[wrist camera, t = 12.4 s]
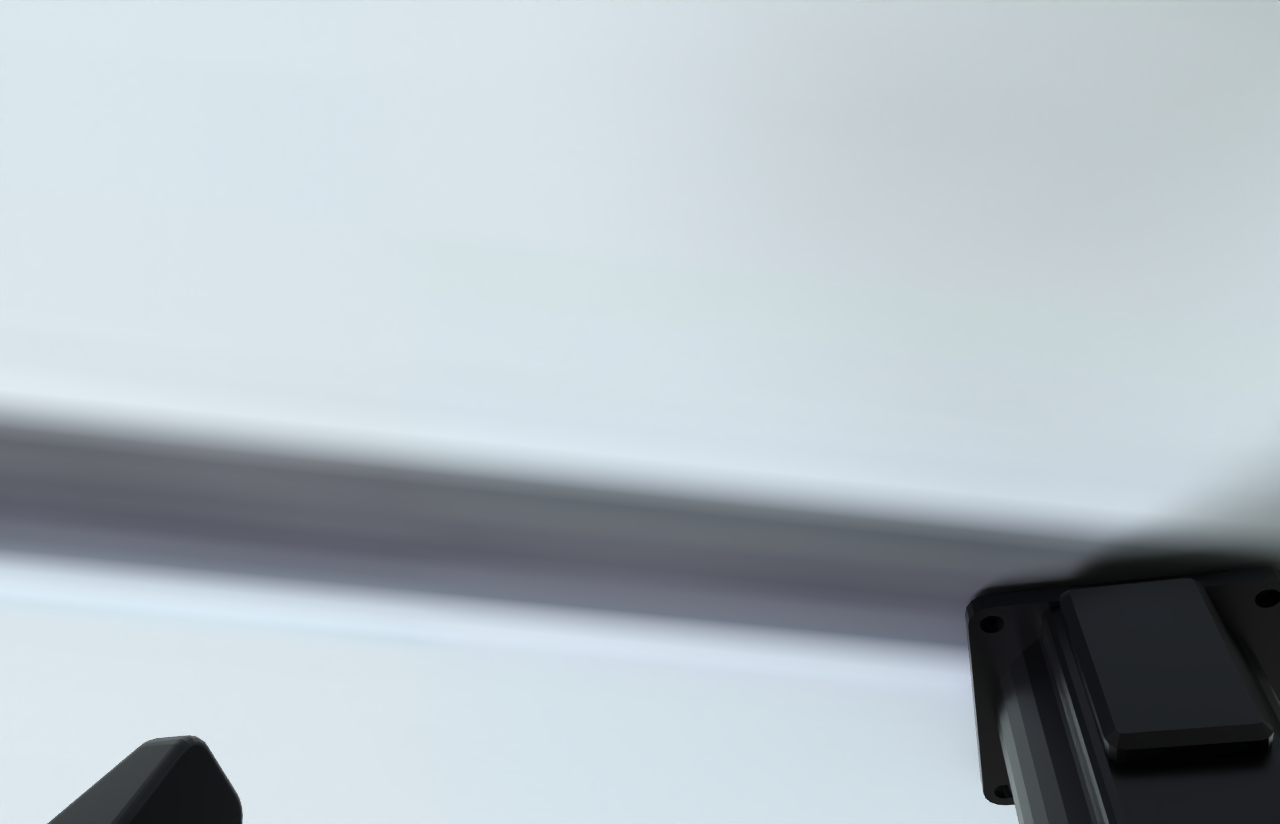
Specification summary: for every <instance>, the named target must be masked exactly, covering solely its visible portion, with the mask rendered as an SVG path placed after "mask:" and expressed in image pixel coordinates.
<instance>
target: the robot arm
mask: <svg viewBox="0 0 1280 824" xmlns="http://www.w3.org/2000/svg"><path fill="white" fill-rule="evenodd" d="M1267 589H1271V590H1270V591H1269V592H1267V593H1265V594H1261V595H1257V594H1259V593H1260V592H1261V591H1264V590H1267ZM965 616H966V627H967V638H968V648H969V659H970V669H971V680H972V691H973V701H974V712H975V723H976V733H977V744H978V755H979V765H980V776H981V783H982V788H983V793H984V795H985V798H986V799H987V800H989V801H990V802H992V803H995V804H997V805H1015V808H1016V812H1017V816H1018V821H1019V824H1280V571H1279V570H1277V569H1274V568H1265V567H1261V568H1251V569H1241V570H1231V571H1221V572H1211V573H1201V574H1191V575H1181V576H1171V577H1160V578H1150V579H1140V580H1130V581H1120V582H1110V583H1100V584H1090V585H1080V586H1070V587H1060V588H1050V589H1040V590H1030V591H1020V592H1010V593H999V594H989V595H984V596H980V597H977V598H976V599H974V600H973V601H971V602H970V603H969V605H968V606H967V607H966V613H965ZM988 616H998V617H997V618H996V619H993V620H983V619H984V618H985V617H988ZM242 818H243V814H242V806H241V802H240V798H239V796H238V794H237V793H236V791H235V789H234V788H233V786H232V784H231V783H230V781H229V780H228V778H227V776H226V775H225V773H224V772H223V770H222V768H221V767H220V765H219V764H218V762H217V760H216V759H215V757H214V755H213V754H212V752H211V751H210V749H209V747H208V746H207V745H206V743H205V742H204V741H203V740H201V739H199V738H198V737H196V736H190V735H189V736H177V737H166V738H156V739H153V740H149V741H147V742H145V743H144V744H142V745H141V746H140V747H138V748H137V749H136V750H135V751H134V752H132V753H131V754H130V755H129V756H128V757H126V758H125V759H124V760H123V761H122V762H120V763H119V764H118V765H117V766H116V767H114V768H113V769H112V770H111V771H110V772H108V773H107V774H106V775H105V776H104V777H103V778H101V779H100V780H99V781H98V782H97V783H95V784H94V785H93V786H92V787H91V788H89V789H88V790H87V791H86V792H85V793H83V794H82V795H81V796H80V797H79V798H77V799H76V800H75V801H74V802H73V803H72V804H70V805H69V806H68V807H67V808H66V809H64V810H63V811H62V812H61V813H60V814H58V815H57V816H56V817H55V818H54V819H52V820H51V821H50V822H49V823H48V824H242Z"/></svg>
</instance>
